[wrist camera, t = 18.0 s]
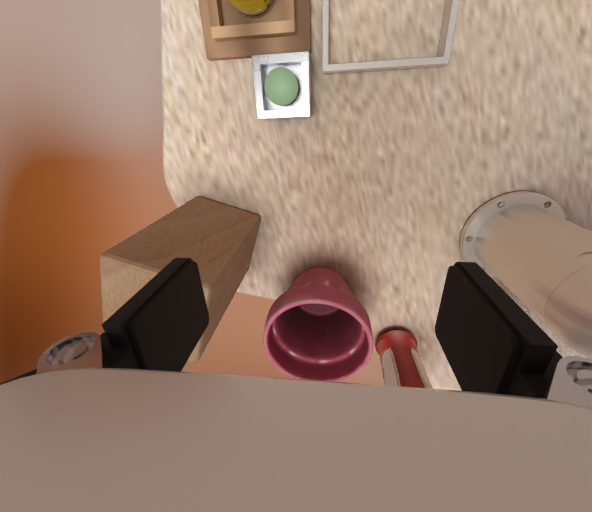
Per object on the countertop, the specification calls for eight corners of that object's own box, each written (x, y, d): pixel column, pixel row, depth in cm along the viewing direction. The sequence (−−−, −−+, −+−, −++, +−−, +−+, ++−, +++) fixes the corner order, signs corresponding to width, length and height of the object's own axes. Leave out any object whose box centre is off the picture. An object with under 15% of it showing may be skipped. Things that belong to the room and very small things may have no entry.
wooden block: (190, 251, 46) (101, 337, 28) (197, 194, 41) (96, 253, 24) (248, 269, 46) (196, 366, 29) (262, 214, 42) (210, 288, 24)
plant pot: (376, 310, 47) (390, 372, 36) (301, 333, 51) (293, 395, 40) (343, 238, 42) (347, 284, 31) (263, 270, 46) (241, 321, 35)
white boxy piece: (311, 58, 32) (308, 51, 29) (311, 116, 35) (309, 116, 32) (260, 62, 33) (251, 55, 30) (265, 118, 36) (257, 118, 32)
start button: (299, 68, 31) (296, 65, 29) (300, 105, 33) (298, 104, 31) (267, 71, 32) (263, 67, 30) (270, 106, 33) (266, 106, 31)
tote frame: (464, -76, 26) (474, -91, 24) (441, 66, 31) (448, 63, 29) (323, -59, 28) (322, -72, 26) (323, 74, 33) (322, 71, 31)
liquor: (414, 355, 50) (495, 588, 26) (373, 355, 52) (411, 579, 27) (417, 323, 47) (513, 554, 22) (373, 324, 48) (416, 545, 24)
